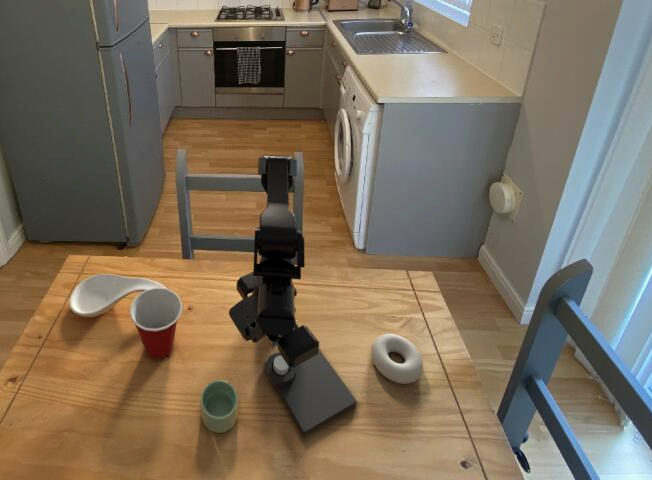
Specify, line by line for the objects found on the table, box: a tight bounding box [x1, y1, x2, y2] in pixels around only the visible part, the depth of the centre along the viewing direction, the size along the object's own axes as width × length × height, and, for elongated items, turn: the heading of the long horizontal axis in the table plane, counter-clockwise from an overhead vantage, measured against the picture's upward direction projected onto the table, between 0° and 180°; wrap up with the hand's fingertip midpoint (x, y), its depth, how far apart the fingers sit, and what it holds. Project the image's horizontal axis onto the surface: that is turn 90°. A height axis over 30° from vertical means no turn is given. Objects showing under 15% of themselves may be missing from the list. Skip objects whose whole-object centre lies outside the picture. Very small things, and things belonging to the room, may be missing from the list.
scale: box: [264, 348, 358, 437], centre depth 82 cm, size 14×13×3 cm
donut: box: [370, 333, 424, 385], centre depth 86 cm, size 10×4×10 cm
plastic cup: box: [129, 287, 183, 360], centre depth 89 cm, size 11×11×12 cm
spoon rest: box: [68, 273, 167, 318], centre depth 100 cm, size 24×12×7 cm, turn 89°
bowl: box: [200, 379, 239, 434], centre depth 78 cm, size 7×7×4 cm
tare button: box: [273, 356, 289, 375], centre depth 84 cm, size 3×3×2 cm
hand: (273, 345), depth 79 cm, fingers closed
